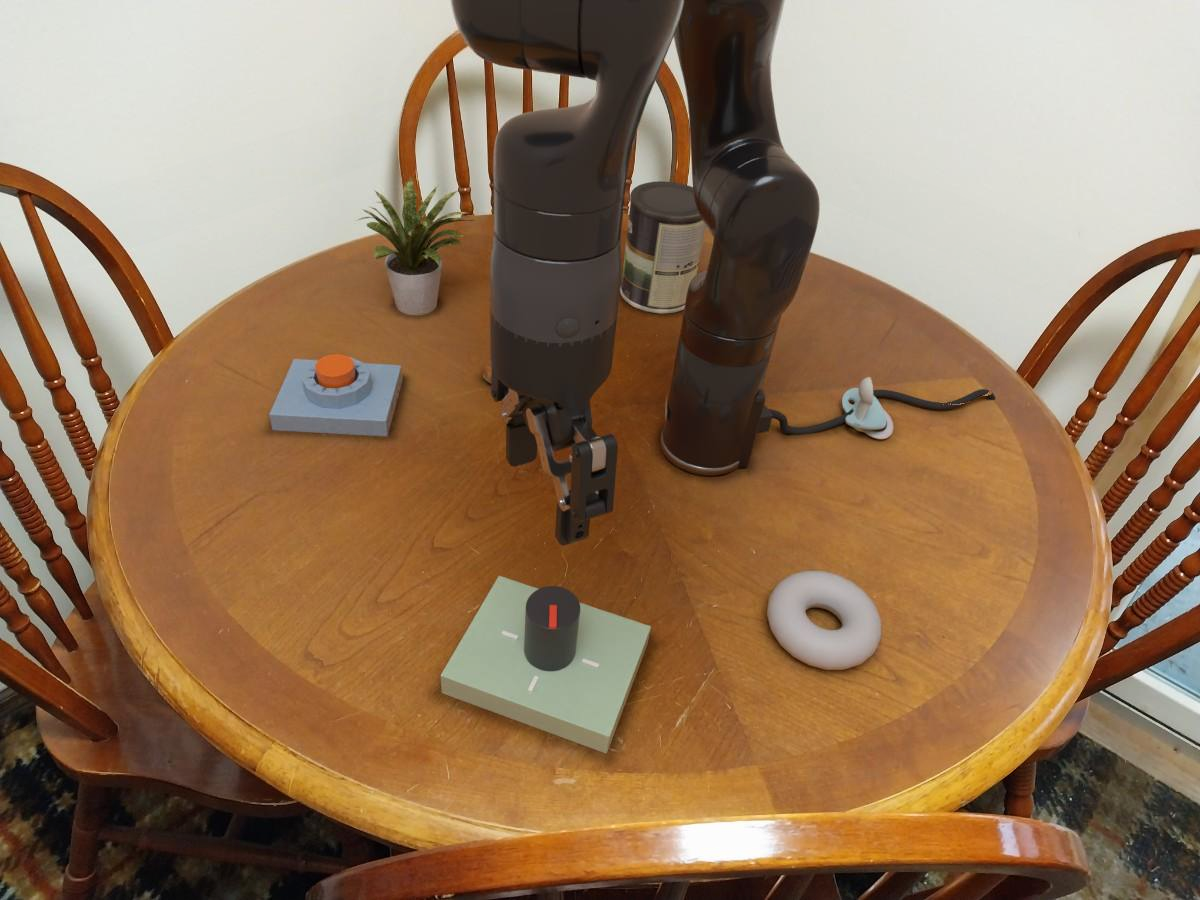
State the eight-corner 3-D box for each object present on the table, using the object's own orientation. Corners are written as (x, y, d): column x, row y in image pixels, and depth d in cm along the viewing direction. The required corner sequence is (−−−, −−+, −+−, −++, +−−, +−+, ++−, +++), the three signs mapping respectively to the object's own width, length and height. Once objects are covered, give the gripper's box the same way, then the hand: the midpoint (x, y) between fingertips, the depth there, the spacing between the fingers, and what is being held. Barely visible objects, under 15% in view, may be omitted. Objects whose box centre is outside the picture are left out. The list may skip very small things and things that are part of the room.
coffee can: (610, 303, 114) (620, 205, 105) (631, 269, 122) (643, 174, 112) (683, 321, 112) (701, 223, 103) (701, 285, 120) (718, 190, 110)
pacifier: (885, 408, 102) (836, 401, 102) (903, 366, 98) (852, 358, 98) (896, 447, 96) (844, 440, 96) (916, 405, 92) (862, 397, 92)
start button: (359, 368, 93) (357, 355, 92) (351, 390, 90) (349, 377, 89) (322, 366, 92) (319, 352, 91) (313, 388, 89) (310, 374, 88)
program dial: (525, 627, 70) (527, 582, 66) (575, 629, 70) (580, 584, 66) (522, 670, 67) (524, 625, 63) (575, 672, 67) (580, 627, 63)
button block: (402, 380, 98) (400, 352, 95) (387, 436, 90) (384, 407, 87) (296, 374, 97) (291, 345, 94) (272, 430, 89) (265, 400, 87)
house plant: (420, 354, 102) (412, 229, 91) (333, 316, 106) (315, 192, 95) (490, 304, 111) (490, 186, 101) (407, 271, 116) (399, 154, 105)
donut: (839, 700, 70) (895, 629, 76) (851, 677, 68) (907, 606, 74) (741, 630, 75) (800, 568, 81) (748, 606, 73) (809, 544, 79)
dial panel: (647, 643, 73) (651, 624, 71) (606, 754, 65) (609, 735, 63) (498, 593, 76) (498, 574, 74) (441, 693, 68) (440, 674, 66)
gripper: (671, 354, 46) (639, 551, 57) (560, 237, 56) (550, 426, 66) (547, 384, 44) (538, 586, 54) (451, 255, 53) (459, 450, 63)
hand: (545, 498), depth 60 cm, fingers open, 8 cm apart
